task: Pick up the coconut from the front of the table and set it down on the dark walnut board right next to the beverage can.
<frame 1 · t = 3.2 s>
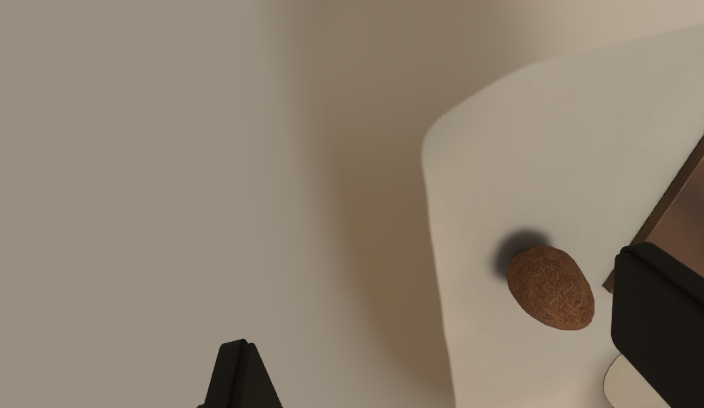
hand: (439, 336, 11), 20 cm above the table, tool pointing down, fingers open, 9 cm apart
coconut: (523, 255, 35), on the table
bottle: (656, 370, 42), on the table
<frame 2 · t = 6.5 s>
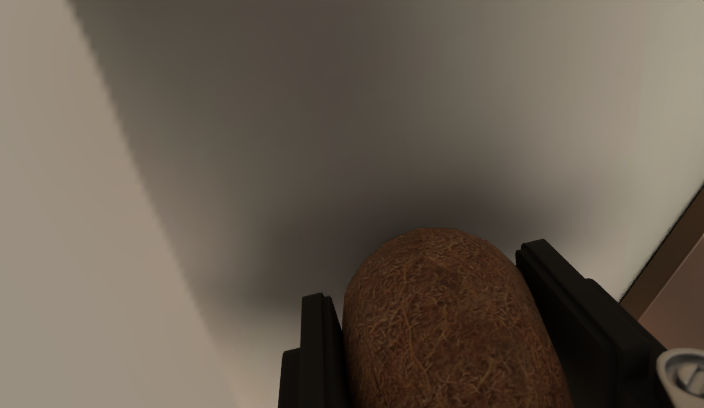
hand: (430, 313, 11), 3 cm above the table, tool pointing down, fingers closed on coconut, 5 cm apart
coconut: (408, 255, 14), on the table, touching gripper
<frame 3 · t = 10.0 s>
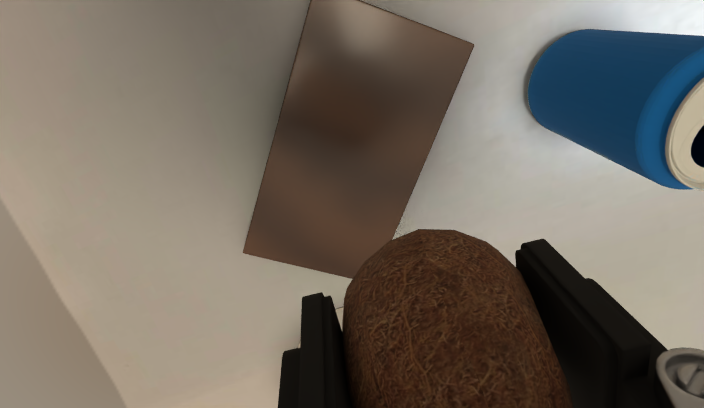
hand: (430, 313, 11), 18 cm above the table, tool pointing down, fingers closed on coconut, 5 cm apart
coconut: (408, 256, 14), point 15 cm above the table, touching gripper
beverage can: (568, 81, 28), on the table
walnut board: (347, 153, 28), on the table
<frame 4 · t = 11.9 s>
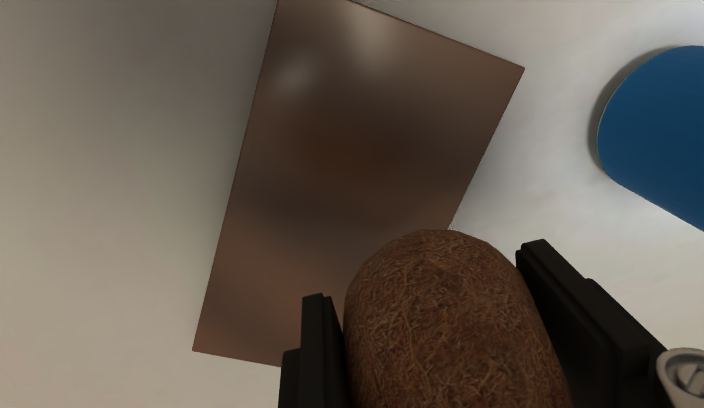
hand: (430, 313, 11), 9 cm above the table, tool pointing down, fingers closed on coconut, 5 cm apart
coconut: (408, 256, 14), point 6 cm above the table, touching gripper
beverage can: (651, 117, 19), on the table
walnut board: (337, 216, 20), on the table
when the fingers open (4 cm above the table, at t = 13.5 s): coconut stays where it is, resting on walnut board.
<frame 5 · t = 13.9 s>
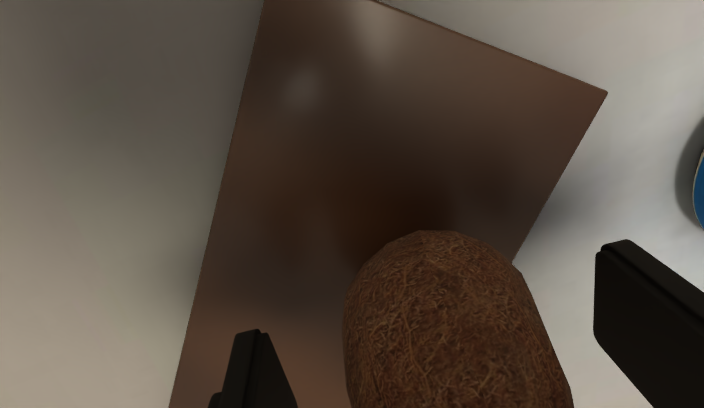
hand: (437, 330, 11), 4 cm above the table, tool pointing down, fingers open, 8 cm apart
coconut: (408, 257, 14), point 1 cm above the table, touching walnut board
walnut board: (346, 281, 15), on the table
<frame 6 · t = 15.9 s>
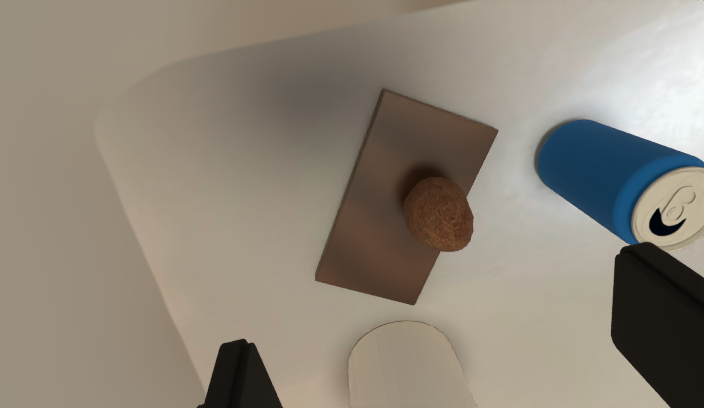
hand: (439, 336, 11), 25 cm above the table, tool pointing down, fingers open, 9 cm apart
coconut: (425, 193, 36), point 1 cm above the table, touching walnut board
beverage can: (568, 154, 36), on the table
walnut board: (399, 205, 37), on the table
bottle: (400, 362, 44), on the table
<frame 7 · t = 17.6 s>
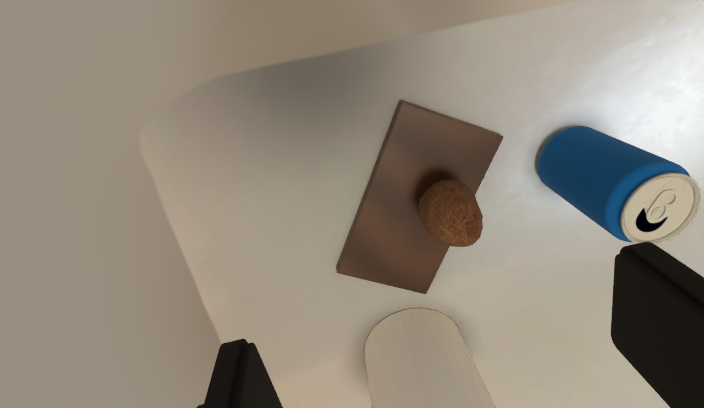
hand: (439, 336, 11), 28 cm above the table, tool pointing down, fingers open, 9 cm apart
coconut: (437, 193, 40), point 1 cm above the table, touching walnut board
beverage can: (565, 156, 40), on the table
walnut board: (413, 204, 41), on the table
bottle: (412, 345, 49), on the table
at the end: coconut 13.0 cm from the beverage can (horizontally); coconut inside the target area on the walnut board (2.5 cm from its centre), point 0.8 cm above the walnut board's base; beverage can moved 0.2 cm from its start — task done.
